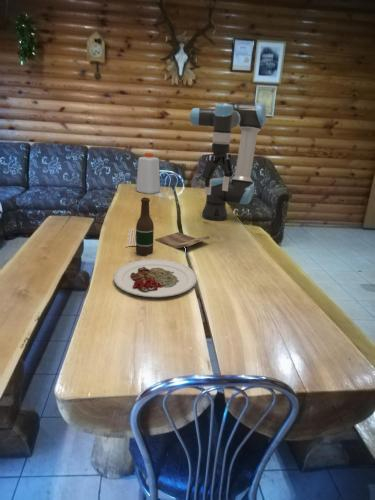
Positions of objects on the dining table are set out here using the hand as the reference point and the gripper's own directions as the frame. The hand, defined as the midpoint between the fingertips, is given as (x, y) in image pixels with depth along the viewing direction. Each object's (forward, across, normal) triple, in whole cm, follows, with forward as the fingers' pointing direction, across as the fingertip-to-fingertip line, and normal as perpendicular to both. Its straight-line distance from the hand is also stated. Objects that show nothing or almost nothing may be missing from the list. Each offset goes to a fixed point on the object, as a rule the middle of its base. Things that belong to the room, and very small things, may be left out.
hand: (216, 192), depth 156 cm
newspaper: (+25, +25, -27) cm, 45 cm away
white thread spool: (+25, -49, -99) cm, 113 cm away
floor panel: (+24, +12, -12) cm, 30 cm away
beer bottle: (+25, +33, -11) cm, 43 cm away
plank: (+23, +12, -2) cm, 26 cm away
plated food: (+25, +47, +10) cm, 54 cm away
